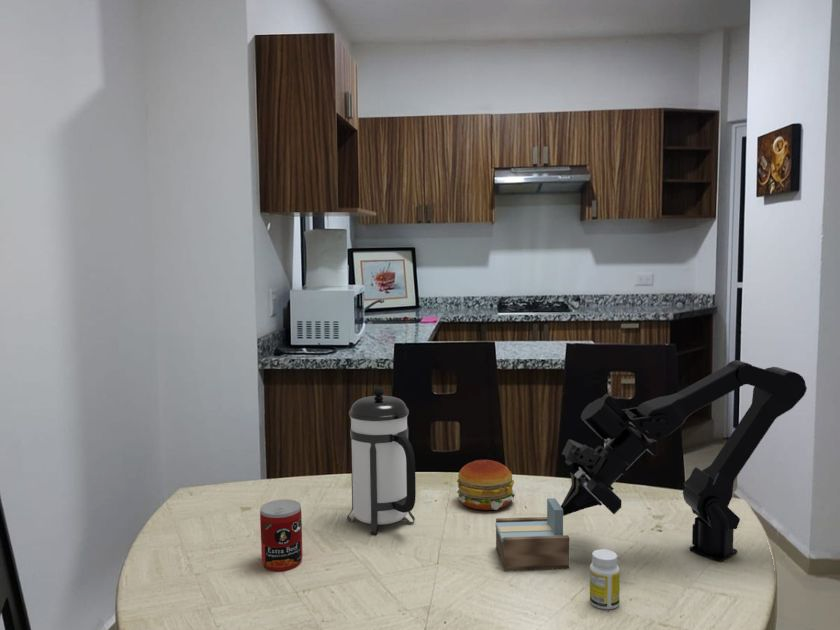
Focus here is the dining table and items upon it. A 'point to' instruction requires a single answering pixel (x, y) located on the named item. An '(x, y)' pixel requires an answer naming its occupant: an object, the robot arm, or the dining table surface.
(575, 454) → the robot arm
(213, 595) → the dining table surface
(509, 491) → the burger
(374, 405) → the coffee press
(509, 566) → the pencil box
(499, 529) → the lid
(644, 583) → the dining table surface
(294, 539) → the canned food
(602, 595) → the supplement bottle
